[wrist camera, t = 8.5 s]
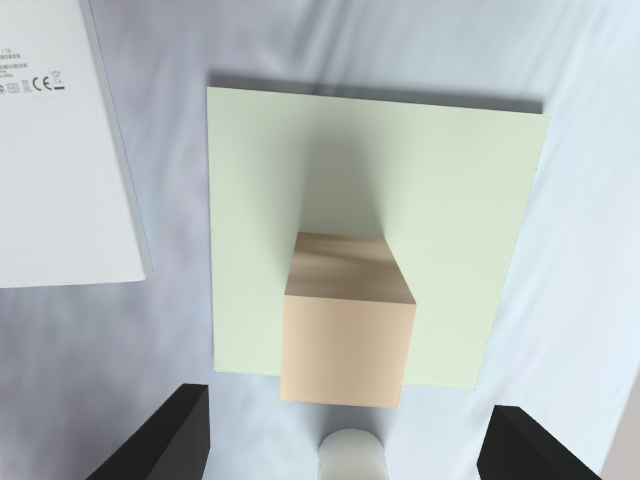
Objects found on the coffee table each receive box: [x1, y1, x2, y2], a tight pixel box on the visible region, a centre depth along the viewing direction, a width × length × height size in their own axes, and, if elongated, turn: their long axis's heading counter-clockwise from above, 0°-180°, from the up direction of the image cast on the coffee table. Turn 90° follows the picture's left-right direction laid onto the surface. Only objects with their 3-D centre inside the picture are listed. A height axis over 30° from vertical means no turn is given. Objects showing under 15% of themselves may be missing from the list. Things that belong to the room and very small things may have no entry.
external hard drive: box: [0, 0, 154, 288], centre depth 16 cm, size 2×8×12 cm
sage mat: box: [207, 87, 551, 390], centre depth 17 cm, size 14×14×1 cm
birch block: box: [279, 232, 417, 409], centre depth 14 cm, size 4×4×6 cm
